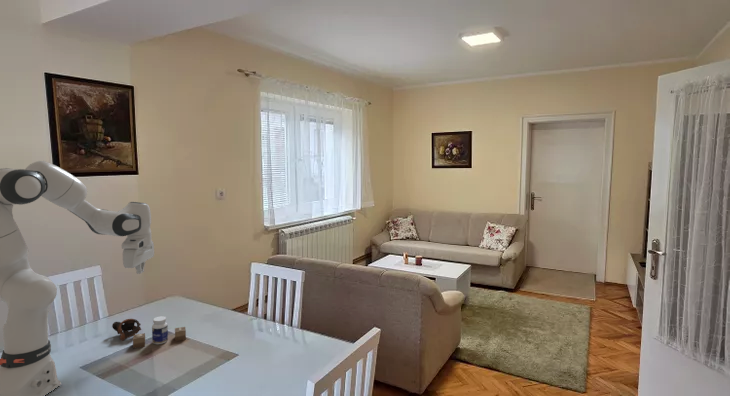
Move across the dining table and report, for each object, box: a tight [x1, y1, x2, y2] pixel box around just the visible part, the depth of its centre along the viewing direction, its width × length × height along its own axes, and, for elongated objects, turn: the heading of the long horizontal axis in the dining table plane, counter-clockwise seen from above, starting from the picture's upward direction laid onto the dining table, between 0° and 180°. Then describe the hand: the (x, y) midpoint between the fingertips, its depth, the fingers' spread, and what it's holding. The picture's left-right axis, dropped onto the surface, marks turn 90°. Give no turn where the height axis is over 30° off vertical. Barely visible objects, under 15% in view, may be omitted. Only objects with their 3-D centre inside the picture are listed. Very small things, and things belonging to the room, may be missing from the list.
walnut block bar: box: [174, 326, 187, 342], centre depth 168 cm, size 4×4×4 cm
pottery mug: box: [111, 318, 142, 341], centre depth 169 cm, size 12×10×8 cm
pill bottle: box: [151, 315, 169, 345], centre depth 164 cm, size 6×6×10 cm
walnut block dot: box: [132, 332, 146, 349], centre depth 161 cm, size 4×4×4 cm
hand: (140, 272), depth 168 cm, fingers closed
